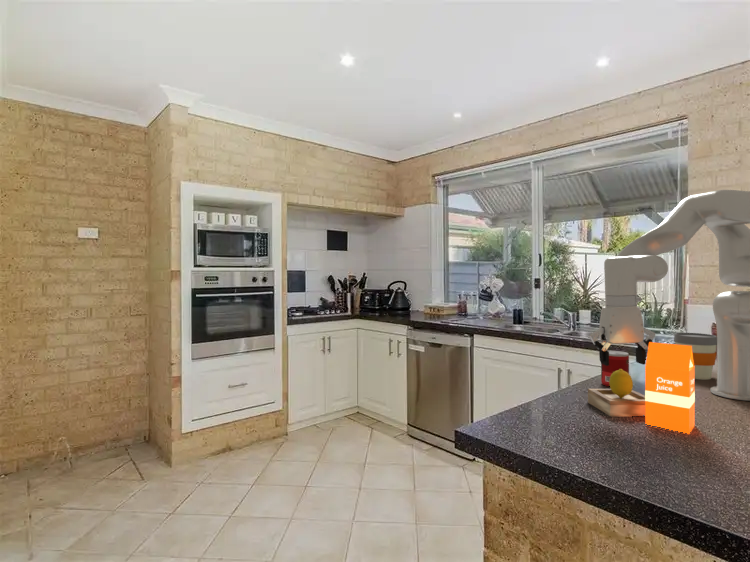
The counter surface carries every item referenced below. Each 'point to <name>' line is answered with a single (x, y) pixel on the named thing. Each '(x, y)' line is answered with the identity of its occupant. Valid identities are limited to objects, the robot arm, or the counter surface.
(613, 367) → the canned food
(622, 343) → the robot arm
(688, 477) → the counter surface
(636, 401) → the square wooden box
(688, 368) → the orange juice
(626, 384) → the lemon
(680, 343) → the reusable coffee cup
